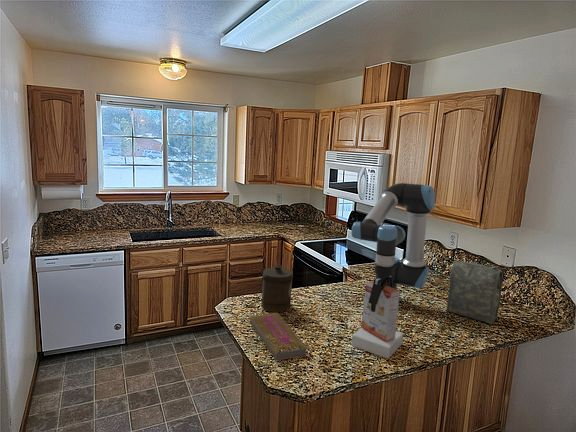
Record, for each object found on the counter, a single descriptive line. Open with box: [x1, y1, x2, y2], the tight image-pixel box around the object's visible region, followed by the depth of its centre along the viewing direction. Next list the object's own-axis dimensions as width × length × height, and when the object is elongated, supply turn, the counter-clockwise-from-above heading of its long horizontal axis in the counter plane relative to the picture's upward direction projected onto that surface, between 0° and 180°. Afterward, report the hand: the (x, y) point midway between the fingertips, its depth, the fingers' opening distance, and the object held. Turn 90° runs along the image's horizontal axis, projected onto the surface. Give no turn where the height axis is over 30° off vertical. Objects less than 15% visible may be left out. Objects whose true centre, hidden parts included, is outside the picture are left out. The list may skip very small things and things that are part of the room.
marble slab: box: [351, 327, 404, 360], centre depth 166 cm, size 16×16×5 cm
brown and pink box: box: [247, 312, 310, 361], centre depth 167 cm, size 35×14×6 cm, turn 23°
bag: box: [445, 259, 504, 325], centre depth 199 cm, size 22×16×27 cm
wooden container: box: [261, 264, 293, 313], centre depth 198 cm, size 15×15×22 cm
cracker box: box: [361, 280, 401, 341], centre depth 164 cm, size 14×6×21 cm, turn 34°
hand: (380, 313), depth 164 cm, fingers open, 13 cm apart
